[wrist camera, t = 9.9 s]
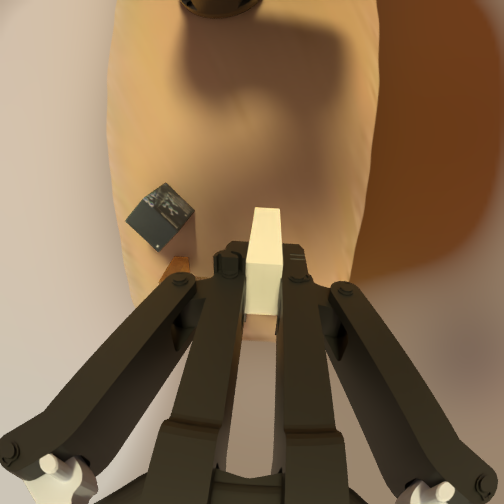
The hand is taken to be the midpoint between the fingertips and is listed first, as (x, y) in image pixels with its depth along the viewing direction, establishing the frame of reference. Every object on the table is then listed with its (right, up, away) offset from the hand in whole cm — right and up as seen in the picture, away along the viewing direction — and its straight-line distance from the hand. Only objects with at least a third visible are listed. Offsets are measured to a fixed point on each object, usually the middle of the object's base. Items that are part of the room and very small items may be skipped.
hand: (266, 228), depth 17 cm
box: (-16, +7, +33) cm, 38 cm away
